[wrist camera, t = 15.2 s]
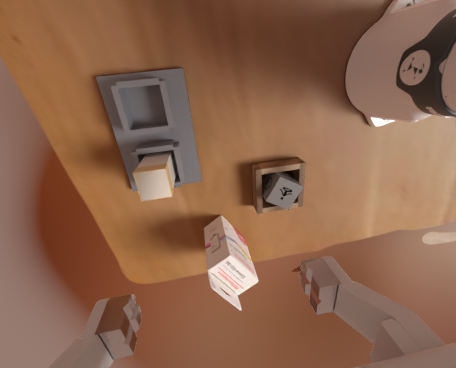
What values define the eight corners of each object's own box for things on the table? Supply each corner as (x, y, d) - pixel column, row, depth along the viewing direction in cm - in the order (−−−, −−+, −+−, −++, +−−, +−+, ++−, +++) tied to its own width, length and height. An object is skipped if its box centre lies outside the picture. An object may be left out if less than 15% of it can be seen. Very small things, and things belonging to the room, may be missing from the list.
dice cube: (291, 175, 42) (303, 186, 38) (278, 196, 44) (288, 209, 39) (270, 166, 41) (280, 176, 36) (257, 188, 42) (265, 201, 38)
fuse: (171, 149, 35) (165, 168, 27) (176, 171, 37) (172, 196, 29) (146, 152, 35) (132, 173, 27) (152, 175, 37) (141, 201, 29)
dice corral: (298, 157, 41) (305, 162, 38) (296, 198, 44) (302, 206, 42) (251, 164, 40) (255, 170, 37) (253, 205, 44) (257, 213, 41)
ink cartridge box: (245, 237, 47) (266, 297, 34) (228, 250, 48) (241, 314, 35) (221, 213, 43) (233, 270, 30) (202, 227, 44) (206, 288, 31)
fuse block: (183, 68, 32) (182, 66, 28) (201, 179, 40) (202, 188, 36) (98, 76, 31) (86, 76, 27) (134, 189, 38) (128, 199, 35)
